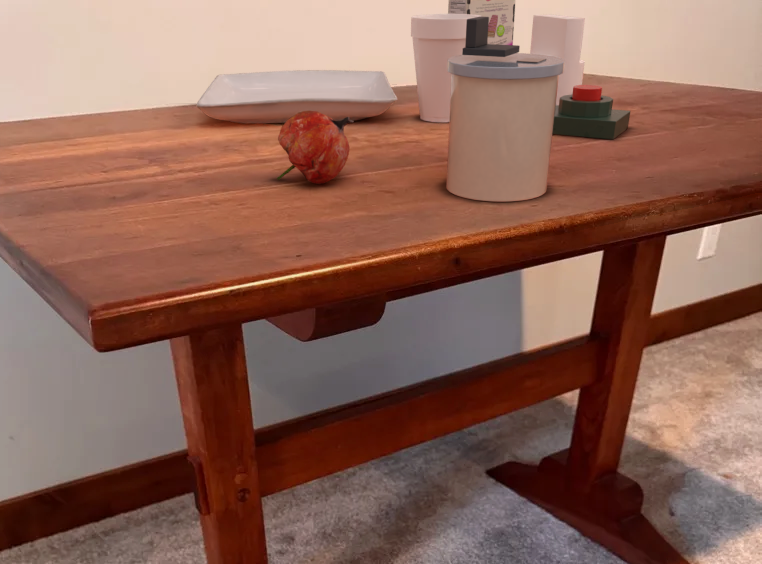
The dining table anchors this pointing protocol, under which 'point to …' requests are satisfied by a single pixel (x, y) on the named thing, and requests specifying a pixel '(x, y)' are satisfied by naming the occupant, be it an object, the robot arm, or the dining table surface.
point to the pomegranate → (315, 145)
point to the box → (589, 118)
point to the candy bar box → (490, 17)
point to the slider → (484, 40)
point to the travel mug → (501, 125)
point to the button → (587, 92)
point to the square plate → (296, 95)
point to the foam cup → (436, 60)
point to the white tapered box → (560, 47)
